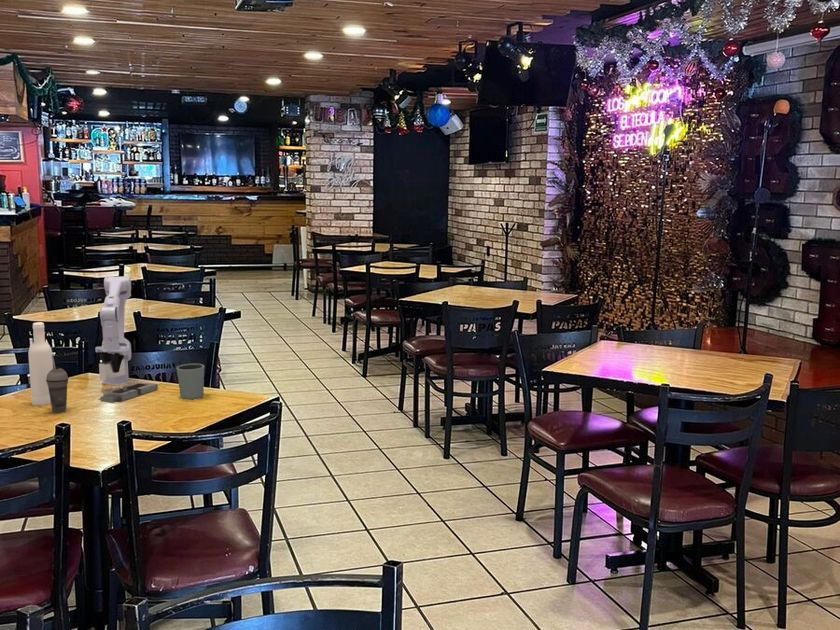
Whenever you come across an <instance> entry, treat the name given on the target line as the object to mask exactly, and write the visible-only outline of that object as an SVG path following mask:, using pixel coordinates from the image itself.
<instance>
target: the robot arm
mask: <svg viewBox="0 0 840 630" xmlns="http://www.w3.org/2000/svg"><path fill="white" fill-rule="evenodd" d="M103 287H104V288H103V289H104V291H105V295H106V296H105V298H104V301H103V306H102V307H101V308H100V309H99V318H100V325H101V327H102V342H103V343H102V345H103V346H96V347H95V353H100V354H99V355H98V357H99V358H100V360H101V361H102V363H104V362H108V361H112V363H113V370H114V373H117V372H119V370H120V365H121V362H122V360H123V359H125V375H122V376H118V377H115V378H112V379H108V380H103V381H102V382H101V384H103V385H112V386H124V385H126V384H127V385H128V384H131V383H132V382H133V383H134V380H133V379H132V380H131V379H129V365H128V364H129V362H128V361H130V360H132V344H131V342H130V341H129V339H127V338H126V337H125V310H126V309H125V306H126V301H127V300H128V299H129V298H131V294H132V293H131V292H132V279H131V277H130V276H129V275H127V276H107V275H106V276H105V277H104V279H103Z"/></svg>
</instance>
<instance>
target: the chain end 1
mask: <svg viewBox="0 0 840 630" xmlns="http://www.w3.org/2000/svg"><path fill="white" fill-rule="evenodd" d="M102 394H103V395H102V396H100V397H99V399H100V400H99V401H100V402H104V403H111V404H114V403H119V402H118V401H124V402H126V401H125V400H127V401H129V400H128V399H130V400H132V399H131V398H133V399H135V398H134V397H136V398H138V397H137V390H130V391H127V392H124V393H123V387H117V388H114V389H110V390H107V391H104V392H103V393H102Z"/></svg>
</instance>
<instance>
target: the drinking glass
mask: <svg viewBox="0 0 840 630" xmlns="http://www.w3.org/2000/svg"><path fill="white" fill-rule="evenodd" d="M175 368H176V374H177V380H178V388H179V396H180V397H179V398H180V399H181V398H182V399H181V400H184V399H187V400H186V401H193V399H195V400H200V399H202V398H204V391H205V390H204V389H205V388H204V385H205V379H204V378H205V365H204V364H201V363H185V364H181V365H178V366H176V367H175Z"/></svg>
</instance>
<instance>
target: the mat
mask: <svg viewBox="0 0 840 630" xmlns="http://www.w3.org/2000/svg"><path fill="white" fill-rule="evenodd" d="M159 390H160V389H158V388H157V389H156V390H155V391H152V392H149V393H146V394H143V395H137V397H134V398H131V399H128V400H125V401H118V402H117V403H124V402H127V401H129V400H132V399H135V398H138V397H142V396H144V395H148V394H151V393H153V392H157V391H159ZM97 400H99V401H101V400H100V398H97Z"/></svg>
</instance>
